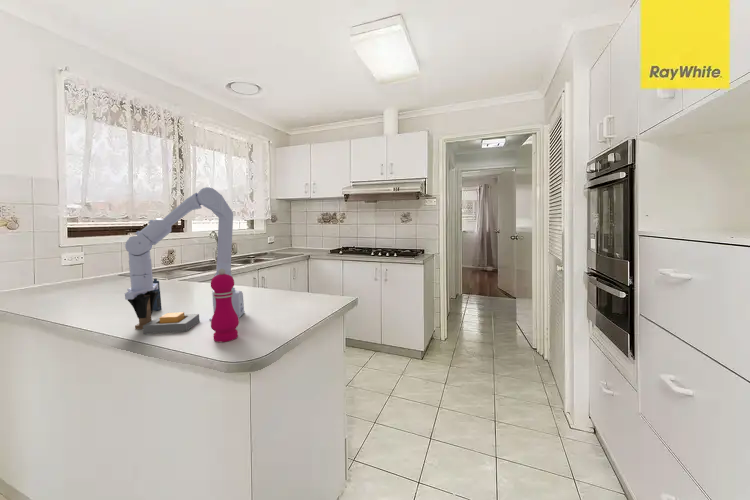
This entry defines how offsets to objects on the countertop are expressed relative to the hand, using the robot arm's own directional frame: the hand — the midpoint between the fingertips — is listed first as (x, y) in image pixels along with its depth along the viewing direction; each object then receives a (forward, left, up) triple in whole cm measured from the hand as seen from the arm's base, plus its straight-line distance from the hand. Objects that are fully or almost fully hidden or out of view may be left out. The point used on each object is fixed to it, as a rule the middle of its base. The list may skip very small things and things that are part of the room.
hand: (145, 316), depth 103 cm
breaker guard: (-9, +2, -3) cm, 10 cm away
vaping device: (+8, -21, -4) cm, 23 cm away
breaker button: (-9, +2, -1) cm, 9 cm away
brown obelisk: (0, 0, -3) cm, 3 cm away
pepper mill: (-29, +15, -4) cm, 33 cm away
